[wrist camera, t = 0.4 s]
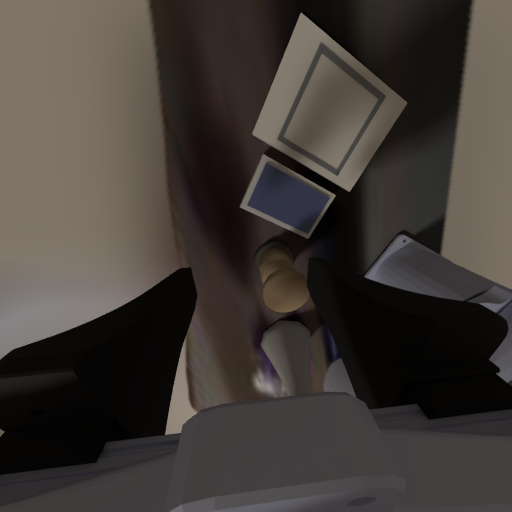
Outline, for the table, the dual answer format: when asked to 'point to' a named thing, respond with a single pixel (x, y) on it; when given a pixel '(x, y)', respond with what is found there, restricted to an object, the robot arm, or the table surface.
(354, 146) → the paper sheet
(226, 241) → the table surface
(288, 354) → the flask
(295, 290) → the stamp
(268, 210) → the ink pad
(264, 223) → the table surface
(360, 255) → the table surface
